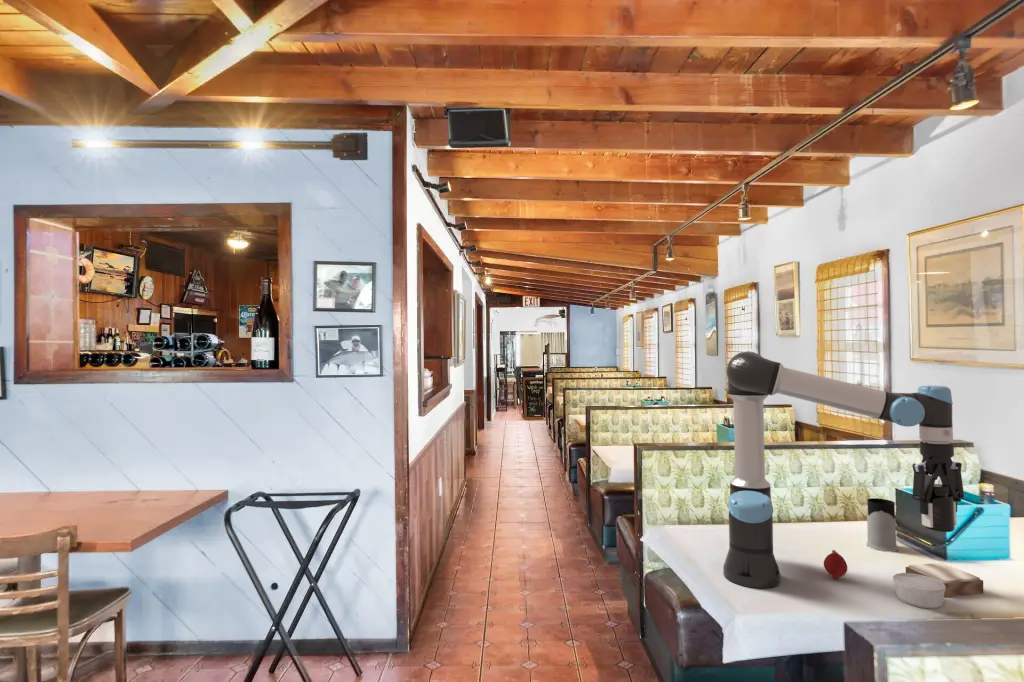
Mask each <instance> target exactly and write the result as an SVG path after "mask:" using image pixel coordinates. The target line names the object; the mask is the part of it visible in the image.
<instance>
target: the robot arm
mask: <svg viewBox="0 0 1024 682" xmlns="http://www.w3.org/2000/svg"><path fill="white" fill-rule="evenodd" d="M726 377H727V394H728V397H730V398H731V399H732V401H733V437H734V438H733V439H734V440H733V441H734V442H733V443H734V477H733V478H732V479H731V480H730V481H729V490H730V491H729V493H730V494H729V498H728V502H727V509H728V530H729V531H728V533H729V534H728V539H729V540H728V541H729V547H728V551H727V554H726V558H725V560H724V563H723V566H722V567H723V571H722V572H723V573H722V575H723V576H724V578H726V580H727V581H729V582H732V583H734V584H736V585H739V586H744V587H749V588H757V589H766V588H767V589H768V588H774V587H777V586H779V585H780V584H781V581H782V580H781V572H780V571H781V570H780V568H779V566H778V563H777V560H776V558H775V554H774V529H773V528H774V527H773V526H774V525H773V524H774V521H773V519H774V518H773V517H774V516H773V513H774V507H773V501H772V499H771V498H772V497H771V496H772V495H771V483H770V482H769V481H768V480H767V479H766V468H765V466H766V464H765V461H766V460H765V458H766V456H765V425H764V423H765V422H764V421H765V418H764V417H765V416H764V401H765V399H767V398H768V397H769V396H774V395H777V394H780V395H783V396H786V397H787V396H788V397H791V398H794V399H798V400H799V399H800V400H803V401H807V402H811V403H816V404H819V405H823V406H827V407H831V408H835V409H838V410H843V411H847V412H851V413H854V414H859V415H862V416H867V417H870V418H871V419H877V420H880V421H881V420H882V421H886V422H890V423H894V424H896V425H898V426H902V427H908V428H909V427H915V426H917V425H919V426H918V427H919V428H918V429H919V431H918V432H919V434H918V435H919V436H918V437H919V439H920V440H921V441H920V442H919V453H920V455H921V456H922V460H921V462H919V463H912V469H913V484H912V499H913V500H915V501H917V502H919V512H920V514H921V525H922V526H924V527H925V526H927V527H930V528H933V509H932V503H929V502H930V498H931V494H932V491H933V487H934V484H936V483H935V482H936V481H937V480H938V478H939V479H940V482H941V484H943V485H947V486H948V488H949V493H948V495H949V496H951V497H952V498H953V500H954V520H955V527H956V526H957V513H958V503H960V502H962V499H964V498H965V494H964V487H963V477H962V468H963V467H962V466H963V465H962V462H958V461H953V459H952V458H953V457H954V456H955V451H954V450H955V448H954V445H955V444H953V443H952V442H953V441H954V431H953V430H954V429H953V425H954V424H953V404H954V403H953V398H952V391H951V389H950V387H948V386H944V385H919V386H918V388H917V391H916V392H911V393H910V392H887V391H884V390H881V389H880V390H879V389H875V388H872V387H868V386H863V385H859V384H855V383H850V382H847V381H843V380H838V379H835V378H834V379H833V378H830V377H825V376H821V375H817V374H814V373H808V372H804V371H800V370H796V369H793V368H788V367H784V365H783V364H782V362H778V361H774V360H770V359H768V358H765V357H763V356H761V354H758V353H757V352H755V351H741V352H738V353H736V354H735V355H734V356H732V358H730V360H729V361H728V362H727V366H726ZM924 497H925V498H924ZM957 527H958V526H957Z"/></svg>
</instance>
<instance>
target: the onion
mask: <svg viewBox="0 0 1024 682" xmlns="http://www.w3.org/2000/svg"><path fill="white" fill-rule="evenodd" d="M823 567H824V569H825V571H826V572H827V573H828V574H829V575H830V576H831V578H833V579H834V580H836V579H840V578H842V577H843V576H845V574H847V572H848V565H847V562H846V560H845V558H844V557H843V556H842V555H841V554H839V553H838V552H837V551H836V550H835V549H832V552H831V553H829V554H828V555H827V556H826V557H825V558H824V560H823Z"/></svg>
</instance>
